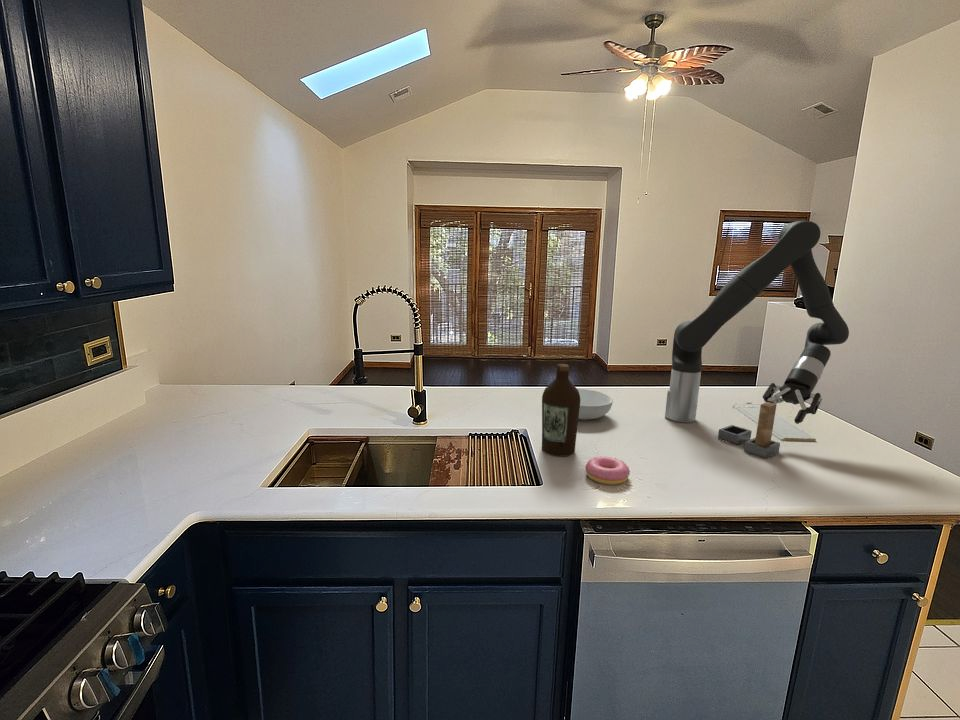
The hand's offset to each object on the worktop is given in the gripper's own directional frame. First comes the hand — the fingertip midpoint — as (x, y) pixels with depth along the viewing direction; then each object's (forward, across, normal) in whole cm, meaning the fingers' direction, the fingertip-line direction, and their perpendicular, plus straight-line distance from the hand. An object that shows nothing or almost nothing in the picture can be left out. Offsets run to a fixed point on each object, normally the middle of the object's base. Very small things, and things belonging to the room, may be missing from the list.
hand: (780, 418), depth 146 cm
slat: (+12, 0, 0) cm, 12 cm away
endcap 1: (+10, -10, +2) cm, 14 cm away
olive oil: (+47, -33, -35) cm, 67 cm away
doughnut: (+48, -14, -35) cm, 61 cm away
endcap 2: (+12, 0, 0) cm, 12 cm away
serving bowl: (+27, -51, -15) cm, 60 cm away
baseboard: (-6, -11, +20) cm, 24 cm away
